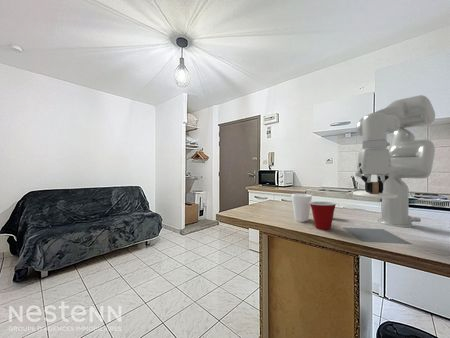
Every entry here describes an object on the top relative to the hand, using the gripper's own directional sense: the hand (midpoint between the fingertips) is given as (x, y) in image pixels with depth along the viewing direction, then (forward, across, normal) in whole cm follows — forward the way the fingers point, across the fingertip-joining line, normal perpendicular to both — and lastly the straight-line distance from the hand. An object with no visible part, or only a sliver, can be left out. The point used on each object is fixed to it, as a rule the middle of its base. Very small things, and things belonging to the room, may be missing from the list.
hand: (374, 192), depth 77 cm
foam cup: (+18, +24, -18) cm, 35 cm away
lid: (+1, 0, 0) cm, 1 cm away
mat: (+17, 0, 0) cm, 17 cm away
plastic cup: (+18, +18, -6) cm, 25 cm away
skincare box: (+18, +10, -24) cm, 32 cm away
